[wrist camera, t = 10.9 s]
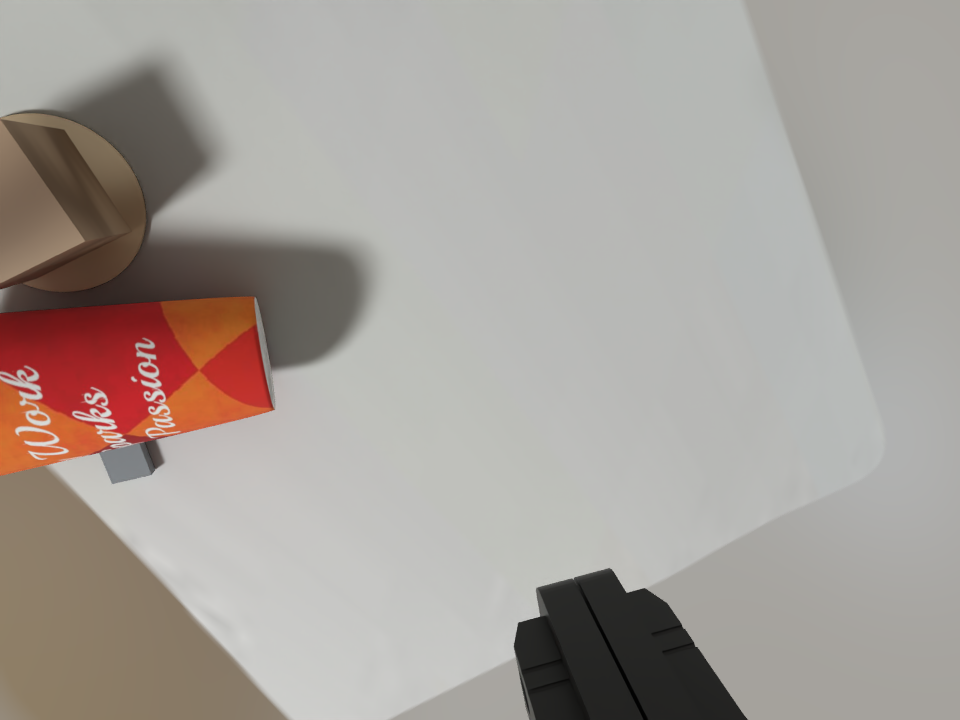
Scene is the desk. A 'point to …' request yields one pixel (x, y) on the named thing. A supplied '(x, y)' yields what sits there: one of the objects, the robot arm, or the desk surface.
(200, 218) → the desk surface
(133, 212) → the cork coaster
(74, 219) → the walnut block
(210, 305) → the paper cup
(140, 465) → the slate strip
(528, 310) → the desk surface
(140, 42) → the desk surface
